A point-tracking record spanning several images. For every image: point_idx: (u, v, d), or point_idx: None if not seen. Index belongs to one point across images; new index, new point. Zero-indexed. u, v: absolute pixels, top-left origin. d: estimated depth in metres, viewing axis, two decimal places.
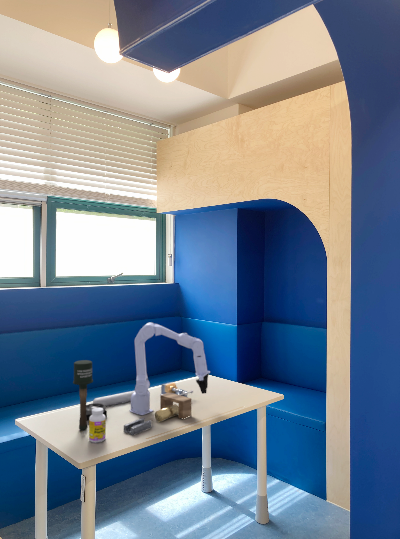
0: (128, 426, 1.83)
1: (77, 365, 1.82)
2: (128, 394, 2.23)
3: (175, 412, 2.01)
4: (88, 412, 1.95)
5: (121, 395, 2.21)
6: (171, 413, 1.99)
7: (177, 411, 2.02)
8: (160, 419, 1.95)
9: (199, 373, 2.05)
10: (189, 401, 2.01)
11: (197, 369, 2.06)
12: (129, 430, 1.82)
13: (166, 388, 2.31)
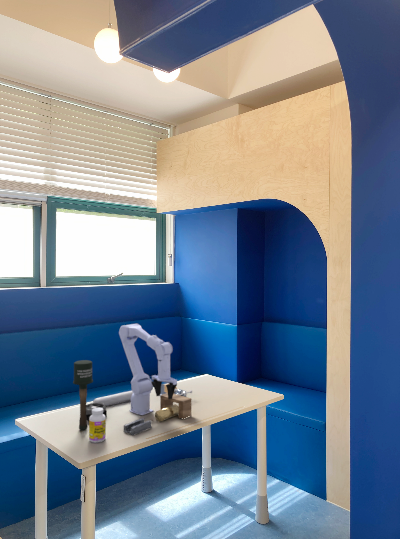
0: (128, 426, 1.83)
1: (77, 365, 1.82)
2: (128, 394, 2.24)
3: (175, 412, 2.01)
4: (88, 412, 1.95)
5: (121, 395, 2.22)
6: (171, 413, 1.99)
7: (177, 411, 2.02)
8: (160, 419, 1.95)
9: None
10: (189, 401, 2.01)
11: None
12: (129, 430, 1.82)
13: (165, 388, 2.32)
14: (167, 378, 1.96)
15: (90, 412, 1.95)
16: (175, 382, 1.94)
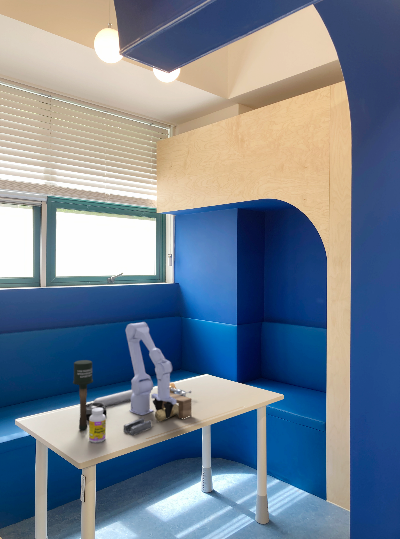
0: (128, 426, 1.83)
1: (77, 365, 1.82)
2: (127, 393, 2.25)
3: (175, 412, 2.01)
4: (87, 411, 1.96)
5: (120, 394, 2.22)
6: (171, 413, 1.99)
7: (177, 411, 2.02)
8: (160, 419, 1.95)
9: None
10: (189, 401, 2.01)
11: None
12: (129, 430, 1.82)
13: None
14: (166, 397, 1.96)
15: (90, 412, 1.96)
16: (174, 402, 1.94)
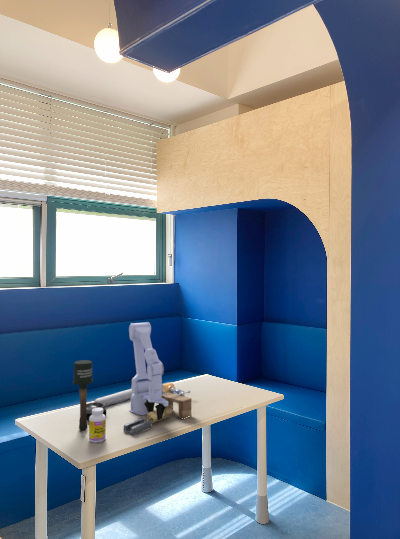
0: (128, 426, 1.83)
1: (77, 365, 1.82)
2: (126, 393, 2.26)
3: (167, 414, 1.97)
4: (87, 411, 1.96)
5: (120, 394, 2.23)
6: (163, 415, 1.95)
7: (169, 413, 1.98)
8: (152, 421, 1.91)
9: None
10: (189, 401, 2.01)
11: None
12: (129, 430, 1.82)
13: (164, 388, 2.32)
14: (158, 399, 1.92)
15: (89, 411, 1.96)
16: (166, 403, 1.89)
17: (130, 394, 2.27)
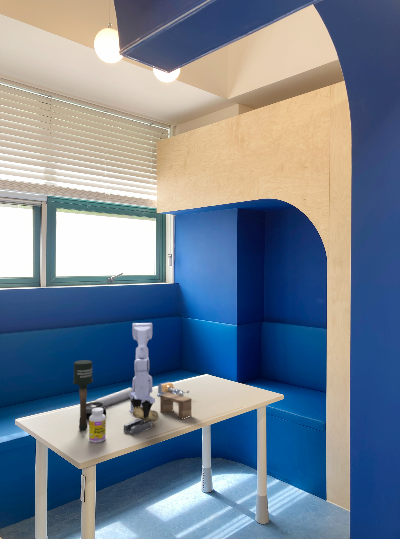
0: (128, 426, 1.83)
1: (77, 365, 1.82)
2: (124, 392, 2.27)
3: (153, 416, 1.90)
4: (87, 410, 1.97)
5: (119, 394, 2.24)
6: (150, 414, 1.88)
7: (156, 416, 1.91)
8: (138, 414, 1.84)
9: None
10: (189, 401, 2.01)
11: None
12: (129, 430, 1.82)
13: (163, 388, 2.32)
14: (145, 396, 1.85)
15: (89, 411, 1.97)
16: (153, 401, 1.83)
17: (128, 393, 2.28)
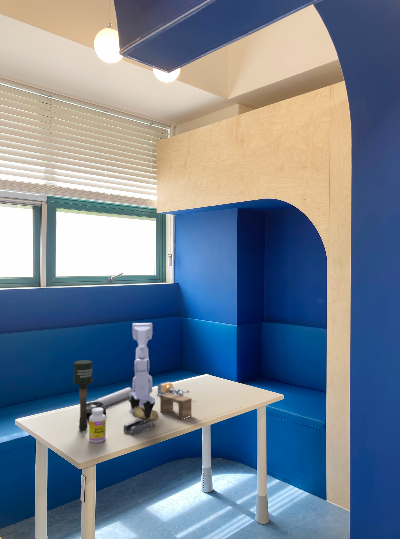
0: (128, 426, 1.83)
1: (77, 365, 1.82)
2: (124, 392, 2.27)
3: (153, 416, 1.90)
4: (86, 410, 1.97)
5: (118, 393, 2.24)
6: None
7: (156, 416, 1.91)
8: (138, 414, 1.84)
9: None
10: (189, 401, 2.01)
11: None
12: (129, 430, 1.82)
13: (162, 388, 2.32)
14: (145, 396, 1.85)
15: (89, 411, 1.97)
16: (153, 401, 1.83)
17: (127, 393, 2.29)
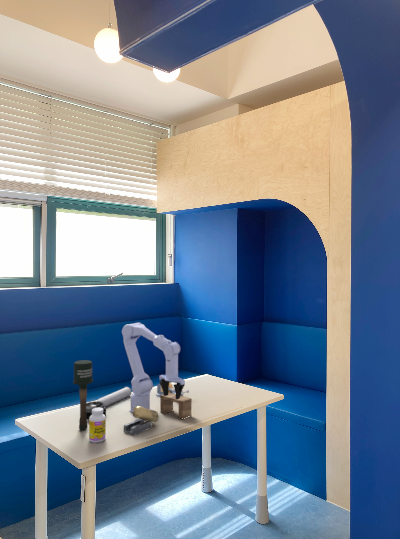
0: (128, 426, 1.83)
1: (77, 365, 1.82)
2: (123, 391, 2.28)
3: (153, 416, 1.90)
4: (86, 410, 1.98)
5: (118, 393, 2.24)
6: (150, 414, 1.88)
7: (156, 416, 1.91)
8: (138, 414, 1.84)
9: None
10: (189, 401, 2.01)
11: None
12: (129, 430, 1.82)
13: None
14: (175, 378, 1.96)
15: (88, 410, 1.98)
16: (183, 382, 1.94)
17: (126, 393, 2.29)
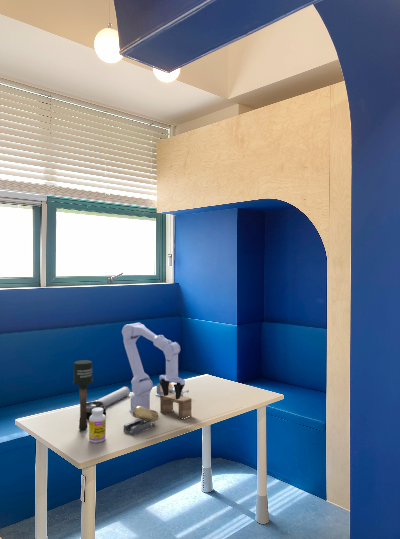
0: (128, 426, 1.83)
1: (77, 365, 1.82)
2: (121, 391, 2.28)
3: (153, 416, 1.90)
4: (86, 410, 1.98)
5: (117, 393, 2.25)
6: (150, 414, 1.88)
7: (156, 416, 1.91)
8: (138, 414, 1.84)
9: None
10: (189, 401, 2.01)
11: None
12: (129, 430, 1.82)
13: None
14: (175, 378, 1.96)
15: (88, 410, 1.98)
16: (183, 382, 1.94)
17: (125, 392, 2.30)
